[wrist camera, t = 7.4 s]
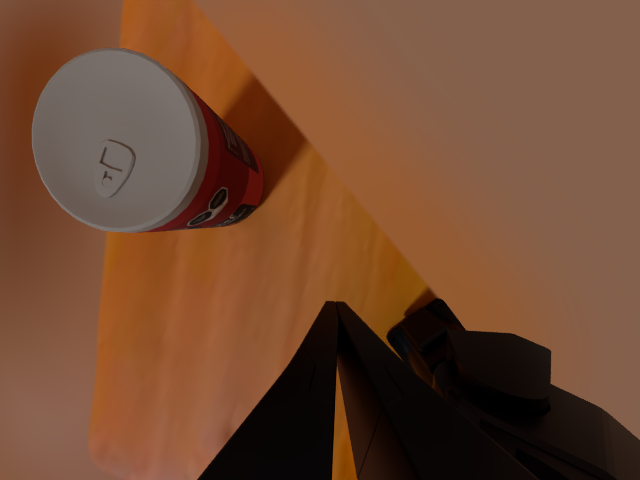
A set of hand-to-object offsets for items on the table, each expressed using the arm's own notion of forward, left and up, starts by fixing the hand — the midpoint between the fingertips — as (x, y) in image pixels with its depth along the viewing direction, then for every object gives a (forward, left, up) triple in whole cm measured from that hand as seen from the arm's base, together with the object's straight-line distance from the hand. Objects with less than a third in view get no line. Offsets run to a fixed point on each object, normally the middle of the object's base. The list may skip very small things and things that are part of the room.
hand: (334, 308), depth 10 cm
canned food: (+12, +3, -11) cm, 17 cm away
